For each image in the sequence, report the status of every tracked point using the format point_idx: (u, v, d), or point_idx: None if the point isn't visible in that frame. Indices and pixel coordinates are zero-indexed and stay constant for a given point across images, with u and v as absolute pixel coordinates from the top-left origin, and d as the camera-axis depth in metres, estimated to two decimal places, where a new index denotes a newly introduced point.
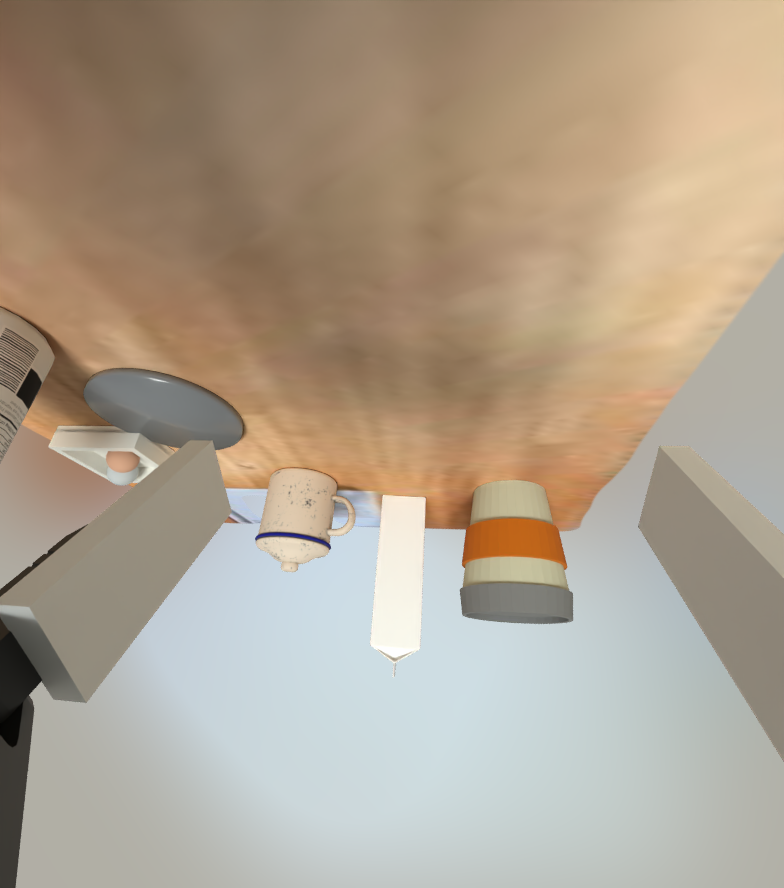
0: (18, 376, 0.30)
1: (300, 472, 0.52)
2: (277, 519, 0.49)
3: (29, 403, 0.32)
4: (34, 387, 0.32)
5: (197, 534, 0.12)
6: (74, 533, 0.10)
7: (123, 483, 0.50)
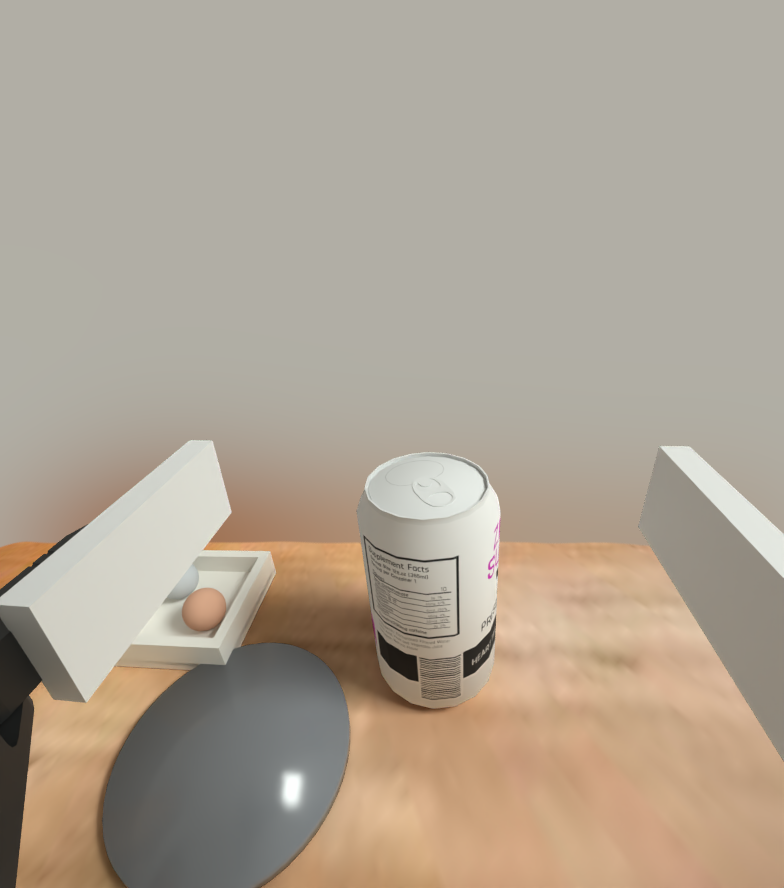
0: (425, 671, 0.25)
1: None
2: None
3: (390, 648, 0.26)
4: (397, 664, 0.26)
5: (197, 534, 0.12)
6: (74, 533, 0.10)
7: None
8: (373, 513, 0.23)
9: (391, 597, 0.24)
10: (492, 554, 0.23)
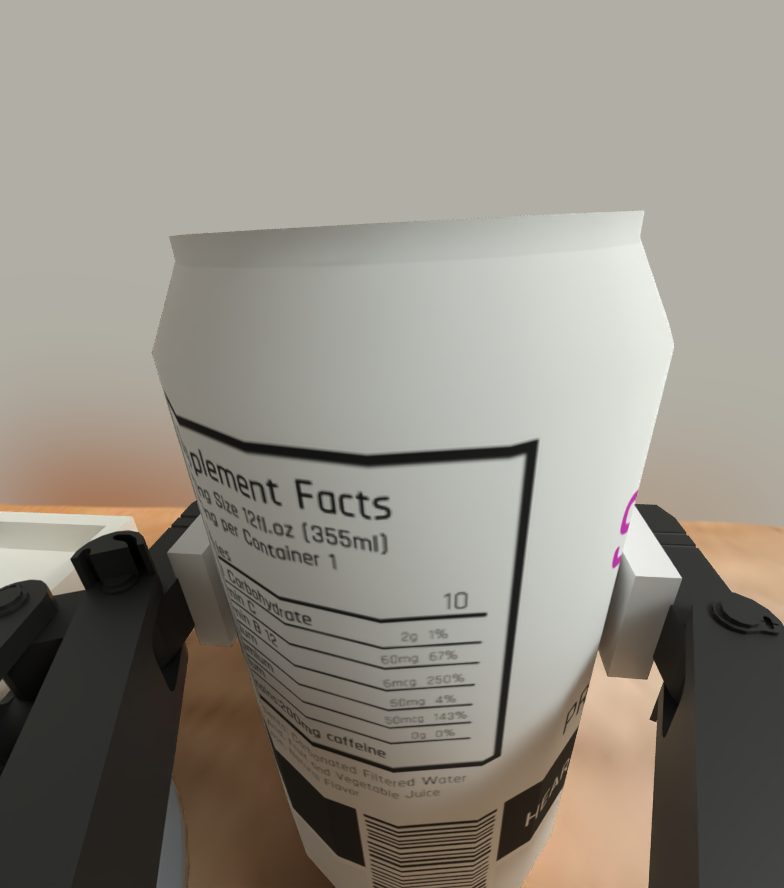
0: (384, 850, 0.08)
1: None
2: None
3: (285, 766, 0.09)
4: (307, 808, 0.09)
5: None
6: None
7: None
8: (178, 280, 0.06)
9: (260, 623, 0.07)
10: (640, 475, 0.06)
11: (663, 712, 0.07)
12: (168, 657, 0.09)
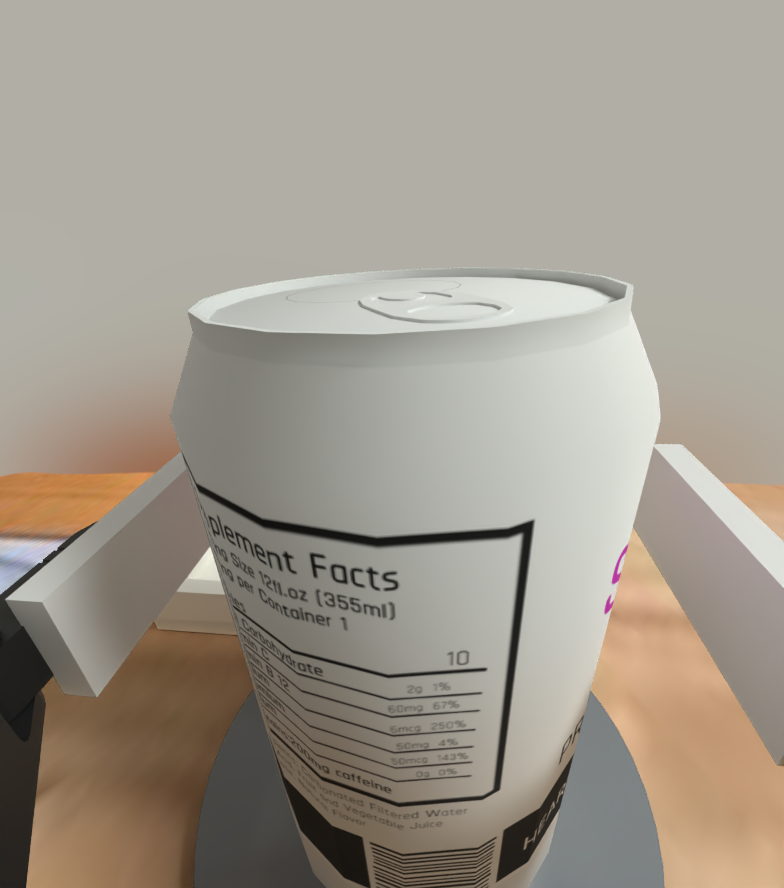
0: (390, 874, 0.09)
1: None
2: None
3: (294, 793, 0.09)
4: (314, 833, 0.10)
5: (204, 532, 0.13)
6: (83, 530, 0.10)
7: None
8: (197, 356, 0.06)
9: (273, 669, 0.07)
10: (630, 530, 0.07)
11: None
12: (9, 715, 0.08)
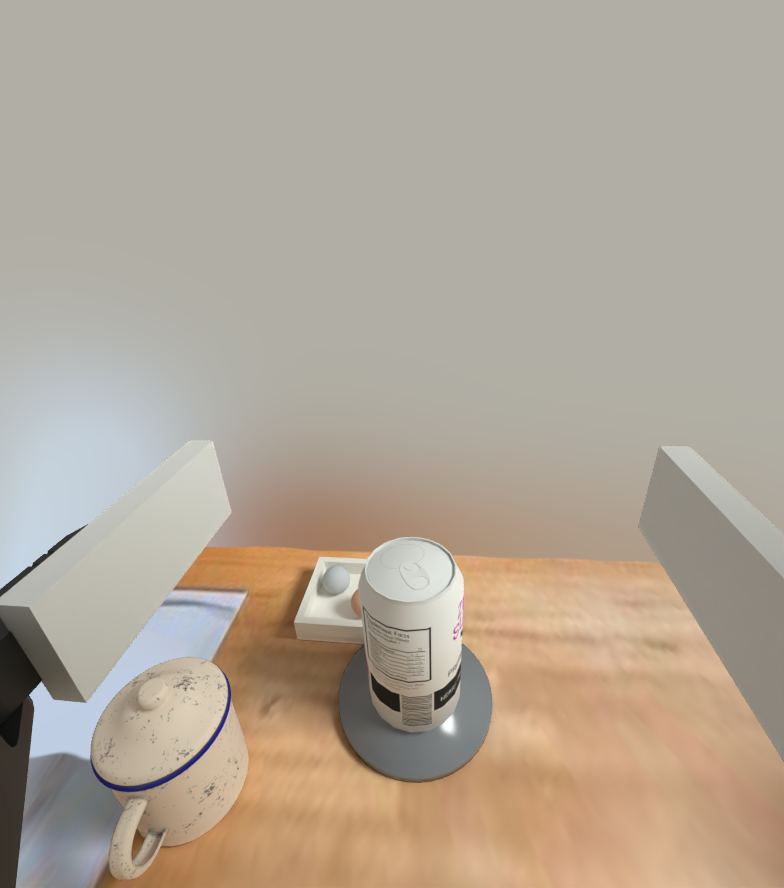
0: (405, 705, 0.34)
1: (237, 793, 0.33)
2: (230, 724, 0.32)
3: (380, 686, 0.35)
4: (384, 698, 0.35)
5: (197, 534, 0.12)
6: (74, 533, 0.10)
7: (333, 574, 0.49)
8: (370, 592, 0.31)
9: (381, 652, 0.32)
10: (456, 623, 0.32)
11: None
12: None
